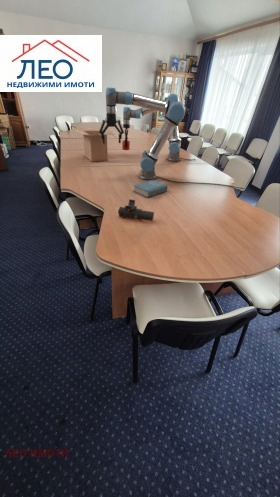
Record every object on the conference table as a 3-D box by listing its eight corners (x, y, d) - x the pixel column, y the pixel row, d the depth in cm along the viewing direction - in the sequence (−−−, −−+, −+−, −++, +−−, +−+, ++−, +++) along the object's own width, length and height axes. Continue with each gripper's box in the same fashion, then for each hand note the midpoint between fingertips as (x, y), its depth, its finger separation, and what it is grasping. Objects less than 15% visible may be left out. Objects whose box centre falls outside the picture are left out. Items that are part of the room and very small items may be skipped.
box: (118, 161, 240) (118, 134, 224) (86, 164, 225) (83, 135, 209) (104, 152, 270) (103, 127, 254) (74, 153, 255) (72, 127, 239)
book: (152, 185, 190) (153, 179, 187) (167, 191, 181) (167, 185, 178) (133, 191, 176) (133, 185, 173) (147, 198, 167) (148, 191, 164)
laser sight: (151, 224, 136) (153, 209, 130) (116, 219, 138) (116, 204, 132) (153, 217, 143) (155, 203, 137) (120, 212, 146) (120, 198, 140)
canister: (123, 148, 258) (124, 140, 253) (130, 149, 257) (130, 141, 251) (121, 149, 252) (121, 141, 247) (128, 150, 250) (128, 142, 245)
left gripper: (124, 112, 174) (124, 141, 187) (93, 111, 165) (95, 142, 177) (128, 113, 169) (127, 143, 181) (96, 113, 159) (98, 144, 172)
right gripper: (123, 122, 247) (123, 144, 261) (122, 125, 230) (122, 148, 244) (130, 122, 248) (129, 144, 261) (130, 125, 231) (129, 148, 244)
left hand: (111, 143), depth 179 cm, fingers open, 13 cm apart
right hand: (126, 146), depth 252 cm, fingers closed on canister, 8 cm apart
